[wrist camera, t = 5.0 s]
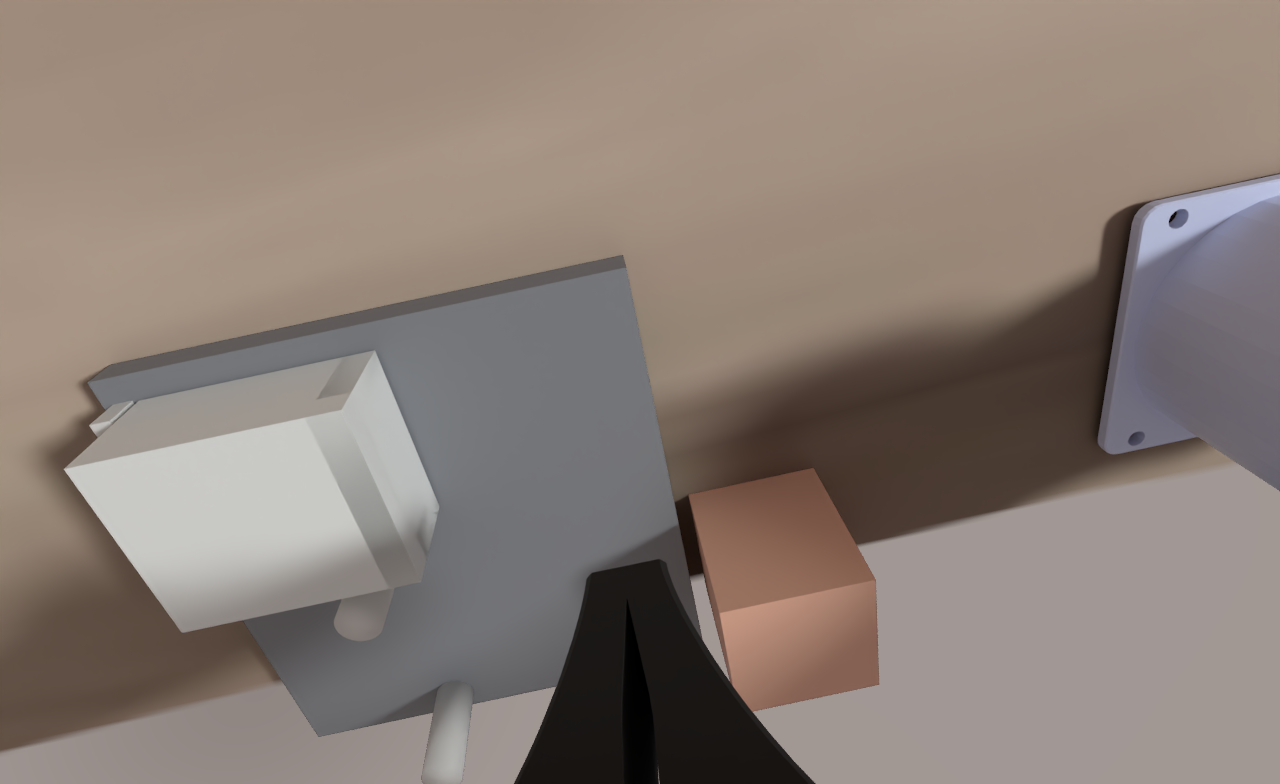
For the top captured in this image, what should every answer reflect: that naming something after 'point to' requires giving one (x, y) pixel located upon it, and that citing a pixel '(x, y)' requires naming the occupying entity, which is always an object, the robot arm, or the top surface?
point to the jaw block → (786, 590)
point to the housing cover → (264, 492)
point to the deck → (470, 492)
